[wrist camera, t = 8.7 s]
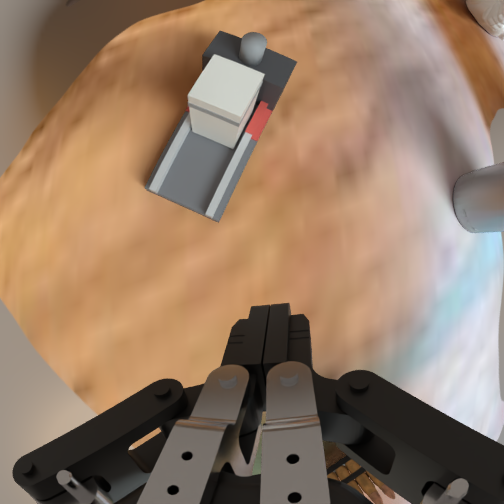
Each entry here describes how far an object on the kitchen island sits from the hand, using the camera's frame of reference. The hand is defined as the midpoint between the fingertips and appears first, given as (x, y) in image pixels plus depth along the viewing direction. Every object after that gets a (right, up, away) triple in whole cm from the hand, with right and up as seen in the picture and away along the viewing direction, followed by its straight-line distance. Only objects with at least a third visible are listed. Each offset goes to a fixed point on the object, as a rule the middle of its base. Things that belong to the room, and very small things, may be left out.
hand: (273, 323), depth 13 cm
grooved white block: (-4, +17, +21) cm, 28 cm away
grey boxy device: (-5, +16, +23) cm, 29 cm away
